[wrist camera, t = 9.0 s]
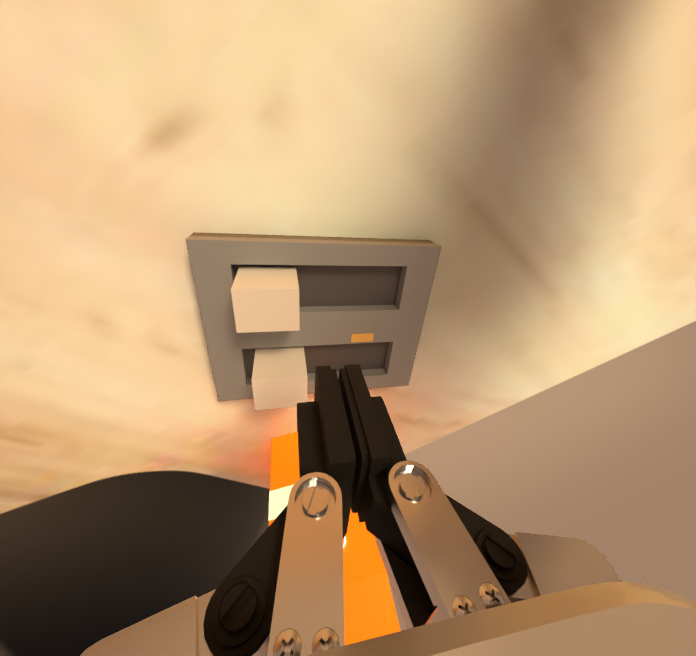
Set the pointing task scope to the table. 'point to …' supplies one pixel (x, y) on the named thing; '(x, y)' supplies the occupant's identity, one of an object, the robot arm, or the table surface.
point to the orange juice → (358, 554)
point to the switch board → (318, 304)
